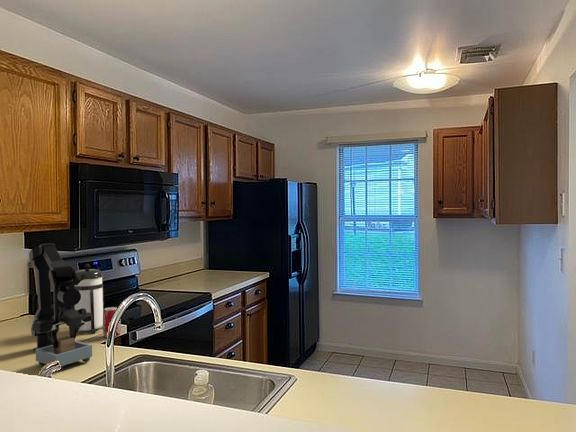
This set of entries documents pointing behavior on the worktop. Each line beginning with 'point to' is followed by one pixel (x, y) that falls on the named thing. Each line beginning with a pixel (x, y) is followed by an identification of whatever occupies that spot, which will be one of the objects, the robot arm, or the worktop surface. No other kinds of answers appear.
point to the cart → (64, 354)
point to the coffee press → (91, 297)
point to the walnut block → (64, 344)
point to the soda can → (106, 320)
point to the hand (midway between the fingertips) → (64, 345)
